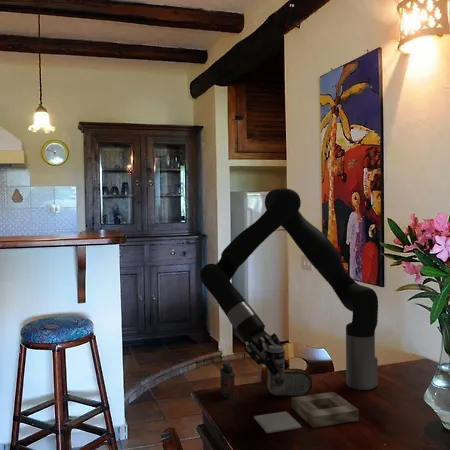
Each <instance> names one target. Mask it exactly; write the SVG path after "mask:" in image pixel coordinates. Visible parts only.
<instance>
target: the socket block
mask: <svg viewBox="0 0 450 450" xmlns="http://www.w3.org/2000/svg"><path fill="white" fill-rule="evenodd" d="M290 401H291V409H292V410H293V411H295V412H296V413H297V415H299V416H300V417H301V418H302V419H303V420H304V421H306V423H307V424H308V425H310V427H312V428H313V429H314V428H321V427H322V428H323V427H326V426H327V427H328V426H333V425H338V424H339V425H341V424H345V423H346V424H347V423H351V422H359V420H360V414H359V413H360V410H359V409H358V408H357V407H355V406H354V405H353V404H351V403H350V402H349V401H347V400H346V399H344V398H343V397H342V396H340V395H339V394H337V393H336V392H334V391H329V392H321V393H315V394H309V395H308V394H307V395H305V396H300V397H294V396H292V397H291V399H290Z"/></svg>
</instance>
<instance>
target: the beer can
mask: <svg viewBox="0 0 450 450" xmlns="http://www.w3.org/2000/svg"><path fill="white" fill-rule="evenodd" d="M281 345H282V344H281ZM281 345H270V346H269V347H268V354H269V356H270V360H272V361H273V362H274V364H275V365H276V366H277V368H278V369H279V373H277V374H276V375H275V376H273V375H272V374H271V373H270V371H269V370H268V368H267V367H266V374H267V388H268V389H269V390H270V391H273V392H280V391H282V390H284V389H285V359H286V358H285V356H286V355H285V353H286V352H285V351H286V350H285V348H284V346H283V345H282V346H281Z"/></svg>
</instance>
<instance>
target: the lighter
mask: <svg viewBox="0 0 450 450" xmlns="http://www.w3.org/2000/svg"><path fill="white" fill-rule="evenodd" d="M219 372H220V373H219V374H220V376H219V377H220V388H219V392H220V394H221V395H222V396H223V397H224V398H226V399H228V400H234V399H235V398H236V394H235V389H236V388H235V377H236V373H235V372H234V367H233V366H232V365H231V364H230V363H229V362H226V361H224V362H222V367H220V368H219Z"/></svg>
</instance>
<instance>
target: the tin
mask: <svg viewBox="0 0 450 450" xmlns="http://www.w3.org/2000/svg"><path fill="white" fill-rule="evenodd" d="M264 387H265V389H266V391H267V392H268V394H271V395H272V396H277V397H300V396H307V395H308V394H309V393H310V392H311V391H312V387H313V378H312V376H311V374H310V373H309V372H308V371H307V370H305V369H302V368H287V369H286V370H285V389H284V390H282V391H280V392H273V391H270V390H269V389H268V388H267V373H266V374H265V376H264Z"/></svg>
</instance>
